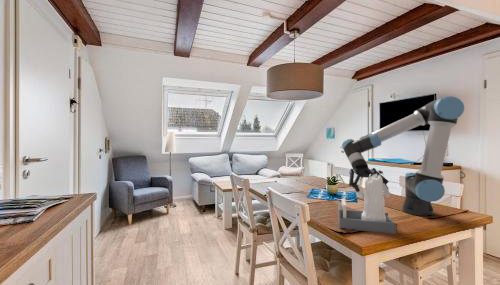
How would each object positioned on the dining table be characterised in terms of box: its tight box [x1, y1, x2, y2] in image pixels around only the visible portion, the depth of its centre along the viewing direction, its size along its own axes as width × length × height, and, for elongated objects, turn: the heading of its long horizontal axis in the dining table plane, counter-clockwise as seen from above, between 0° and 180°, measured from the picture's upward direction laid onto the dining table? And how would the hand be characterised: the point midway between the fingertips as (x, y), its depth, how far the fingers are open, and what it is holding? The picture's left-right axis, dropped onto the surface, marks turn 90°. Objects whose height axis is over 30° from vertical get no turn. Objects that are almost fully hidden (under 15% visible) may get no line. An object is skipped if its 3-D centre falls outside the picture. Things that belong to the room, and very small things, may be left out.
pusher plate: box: [341, 198, 347, 218], centre depth 120 cm, size 2×13×10 cm, turn 161°
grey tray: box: [337, 201, 397, 235], centre depth 117 cm, size 24×16×9 cm, turn 71°
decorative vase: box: [362, 173, 386, 222], centre depth 116 cm, size 11×11×25 cm
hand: (375, 196), depth 113 cm, fingers open, 13 cm apart
